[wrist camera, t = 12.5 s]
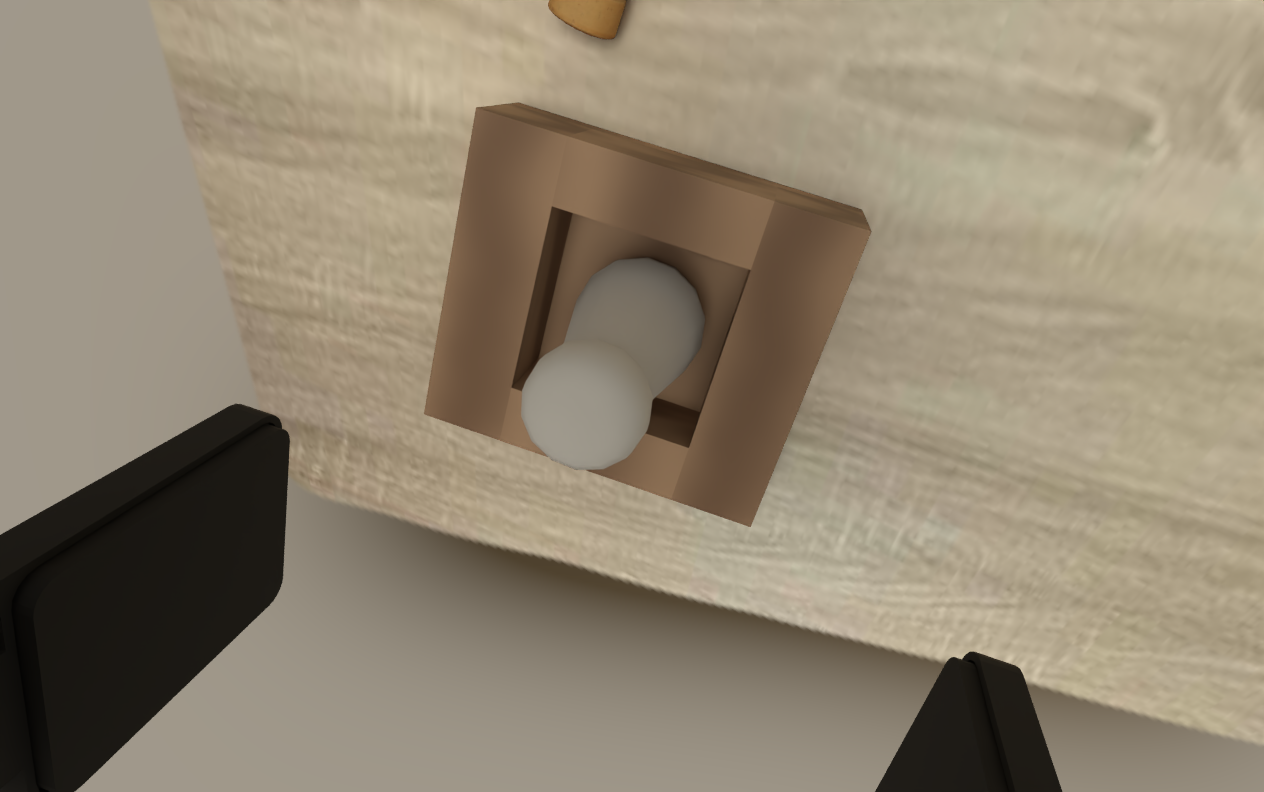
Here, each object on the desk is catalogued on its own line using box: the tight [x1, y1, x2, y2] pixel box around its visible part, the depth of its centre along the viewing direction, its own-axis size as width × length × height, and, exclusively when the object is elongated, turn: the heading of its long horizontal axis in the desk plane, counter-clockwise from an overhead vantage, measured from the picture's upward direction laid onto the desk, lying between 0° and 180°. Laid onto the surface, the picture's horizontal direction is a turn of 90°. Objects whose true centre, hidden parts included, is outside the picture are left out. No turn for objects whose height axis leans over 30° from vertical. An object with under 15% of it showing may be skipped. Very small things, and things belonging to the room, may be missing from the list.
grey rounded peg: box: [521, 257, 705, 470], centre depth 30 cm, size 6×6×13 cm
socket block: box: [424, 103, 871, 527], centre depth 35 cm, size 16×14×5 cm
